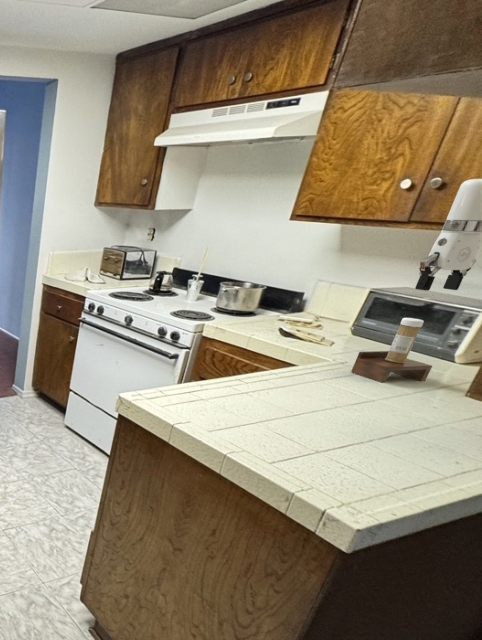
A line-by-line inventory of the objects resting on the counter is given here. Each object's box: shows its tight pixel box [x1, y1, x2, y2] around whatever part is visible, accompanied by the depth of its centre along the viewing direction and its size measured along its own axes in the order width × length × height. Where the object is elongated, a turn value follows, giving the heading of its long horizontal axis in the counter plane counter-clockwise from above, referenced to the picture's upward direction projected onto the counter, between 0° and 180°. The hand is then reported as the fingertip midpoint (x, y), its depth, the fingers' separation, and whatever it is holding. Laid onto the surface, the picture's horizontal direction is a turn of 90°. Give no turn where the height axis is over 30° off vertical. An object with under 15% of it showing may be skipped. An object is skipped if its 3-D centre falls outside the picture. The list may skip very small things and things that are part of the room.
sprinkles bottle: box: [385, 317, 425, 363], centre depth 143 cm, size 5×5×13 cm
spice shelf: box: [350, 350, 433, 383], centre depth 146 cm, size 9×16×7 cm, turn 98°
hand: (436, 289), depth 136 cm, fingers open, 9 cm apart
